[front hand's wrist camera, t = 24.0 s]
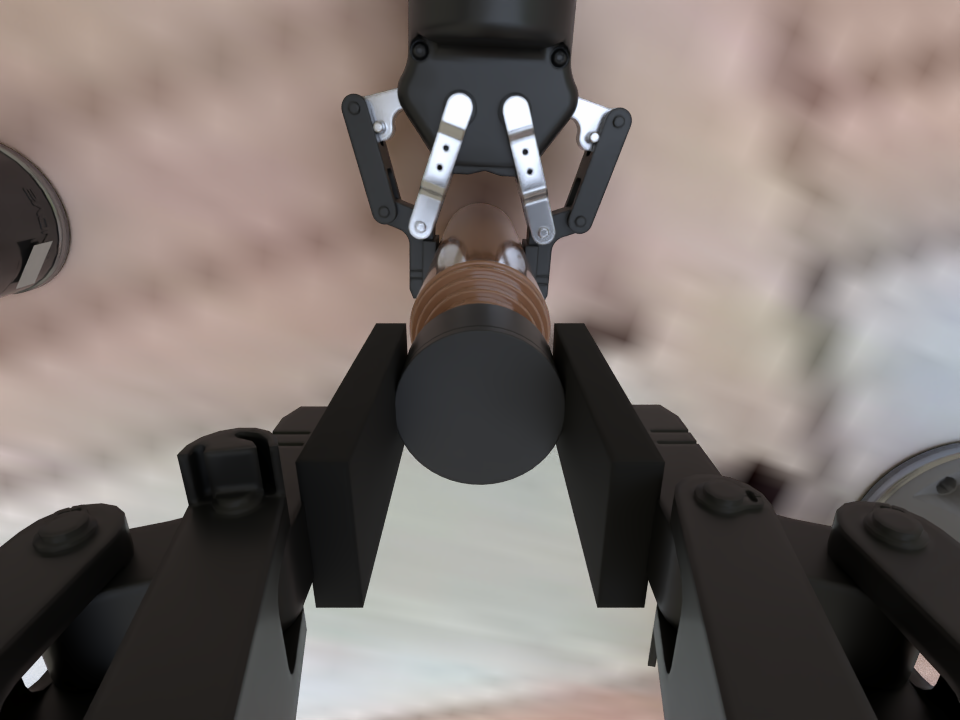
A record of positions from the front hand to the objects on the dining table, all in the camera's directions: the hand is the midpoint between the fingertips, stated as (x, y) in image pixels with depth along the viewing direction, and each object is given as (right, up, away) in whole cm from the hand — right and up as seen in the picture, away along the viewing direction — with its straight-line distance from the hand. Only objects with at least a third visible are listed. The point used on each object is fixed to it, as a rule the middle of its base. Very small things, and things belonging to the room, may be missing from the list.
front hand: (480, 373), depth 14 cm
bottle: (0, +8, +20) cm, 22 cm away
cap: (0, -1, -2) cm, 2 cm away
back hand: (0, +3, +16) cm, 16 cm away
